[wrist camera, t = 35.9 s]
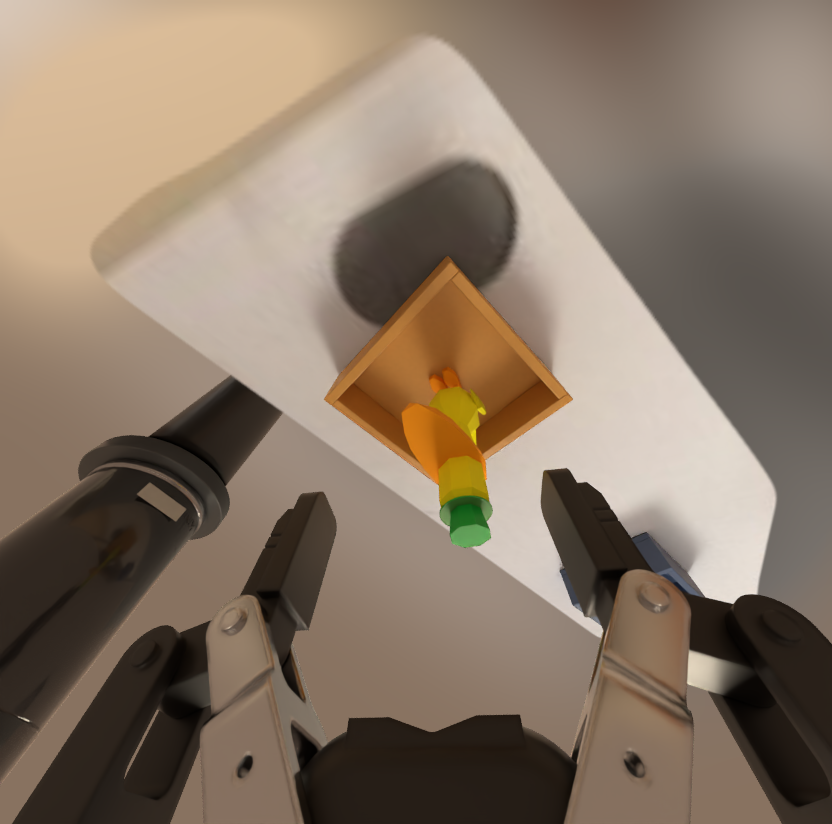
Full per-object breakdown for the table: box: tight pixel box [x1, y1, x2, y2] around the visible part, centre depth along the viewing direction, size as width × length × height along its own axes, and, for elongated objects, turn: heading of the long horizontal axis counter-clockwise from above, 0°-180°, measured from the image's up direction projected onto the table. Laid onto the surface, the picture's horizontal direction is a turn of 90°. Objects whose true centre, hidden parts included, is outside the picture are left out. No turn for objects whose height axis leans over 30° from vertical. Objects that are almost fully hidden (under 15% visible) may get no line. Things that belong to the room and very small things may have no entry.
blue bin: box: [560, 532, 705, 625], centre depth 31 cm, size 10×10×4 cm
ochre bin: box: [324, 256, 573, 485], centre depth 20 cm, size 11×11×4 cm
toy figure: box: [402, 367, 493, 548], centre depth 16 cm, size 7×4×12 cm, turn 36°
